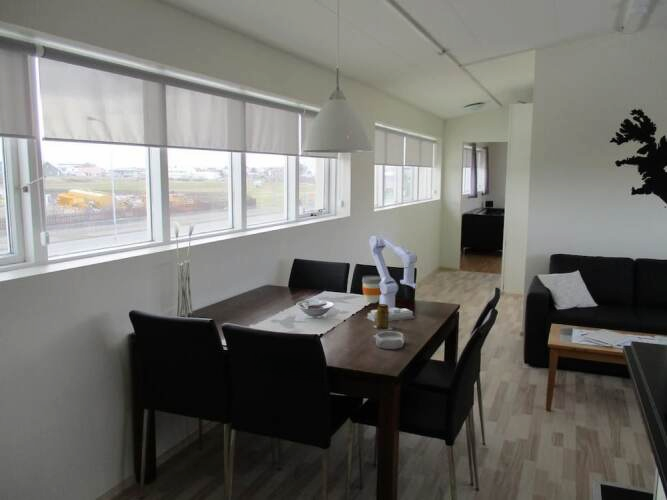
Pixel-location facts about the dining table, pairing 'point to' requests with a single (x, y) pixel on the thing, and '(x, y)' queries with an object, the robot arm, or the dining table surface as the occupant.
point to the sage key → (374, 312)
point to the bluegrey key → (395, 310)
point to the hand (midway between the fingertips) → (408, 298)
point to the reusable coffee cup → (371, 288)
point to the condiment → (382, 317)
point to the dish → (389, 340)
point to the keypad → (392, 316)
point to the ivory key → (405, 310)
